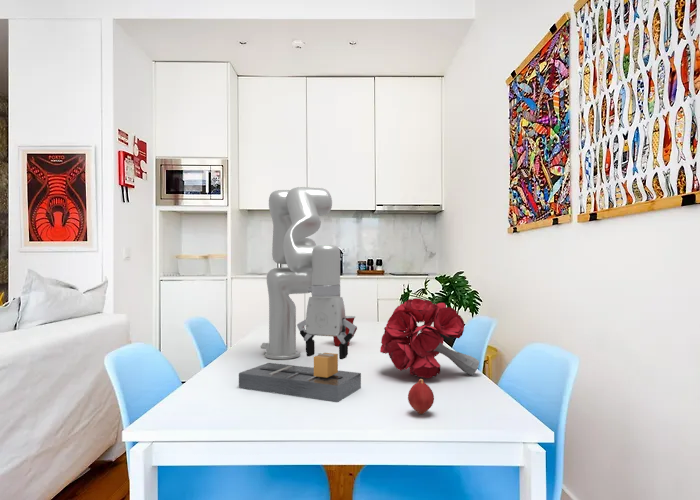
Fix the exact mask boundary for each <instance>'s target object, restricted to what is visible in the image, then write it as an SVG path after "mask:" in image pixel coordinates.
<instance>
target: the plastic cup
mask: <svg viewBox="0 0 700 500" xmlns="http://www.w3.org/2000/svg"><path fill="white" fill-rule="evenodd" d="M345 316H346V320H347V321H349V322H350V323H352V324H354V321H355V318H356V316H355V315H354V316H353V315H345ZM349 331H350V330H349V328H347V327H346V332H345V334H346V335H347V334H348V333H349ZM332 337H333V345H334V346H335V347H339V344H341V342H340V340H339V339H338V337H337V336H332ZM350 341H351V340H350ZM350 341H349V342H348V347H349V345H350V343H351V342H350Z"/></svg>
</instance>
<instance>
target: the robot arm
mask: <svg viewBox="0 0 700 500" xmlns="http://www.w3.org/2000/svg"><path fill="white" fill-rule="evenodd" d="M332 207H333V198H332V195H331V193H330V192H329V191H328V190H327V189H326V188H323V187H310V186H309V187H308V186H307V187H306V186H298V187H293V188H291V189H278V190H277V189H276V190H274V191H272V192H270V194H269V197H268V209H269V213H270V218H271V220H272V226H273V227H272V245H271V246H272V248H271V251H272V253H271V255H272V260H273V261H274V263H276V264H280V265H287V267H286V266H285V267H284V266H283V267H275V268H274V267H273V268H272V269H270V270H269V271H268V273H267V275H266V285H267V293H268V317H269V318H268V342H262V344H261V345H260V349H262V350H266V351H265V352H264V357H265V358H266V359H271V360H289V359H295V358H298V357H300V356H301V352H300V351H299V350H297V329H298V331H299V334H300V336H301V337H302V338H303V341H304V342H305V353H306V357H311V356H314V355H315V353H316V352H315V347H316V346H315V339H314V337H315V336H319V337H320V336H321V337H333V336H337V337H338V339H339V340H340V342H341V344H339V346H338V360H344V359H347V356H348V354H349V346H348V342H349V341H351V340H352V339H353V338H354V336H355V334H356V332H357V330H358V326H357V325H355V323H353V324H352V323H350V322H349V321H347V320H346V316H347V315H346V308H345V303H344V297H343V296H341V249H340V247H339V246H337V245H331V244H330V245H326V244H324V245H317V244H316V242H315V240H314V239H312V238H309V237H310V236H312V235H314V234H316V233H317V232H318V231H319V229H320V228H321V223H322V222H321V217H320V216H326V215H328V214H329V213H330V212H331V210H332ZM309 293H311V296H309V297H308V299H307V306H306V314H305V319H304V320H302V321H300V322H298V323H297V308H296V307H297V306H296V304H295V302H294V300H292V298H291V297H290V295H299V294H309ZM346 327H347V328H349V330H350V331H349V333H348V334H347V335H346V334H345V332H346Z"/></svg>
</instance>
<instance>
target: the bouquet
mask: <svg viewBox="0 0 700 500" xmlns="http://www.w3.org/2000/svg"><path fill="white" fill-rule="evenodd" d="M419 323H420V324H421V323H423V324H422V325H420V326H419V325H418V324H419ZM432 325H433V326H432ZM383 329H384V332H383V335H381V342H380V343H381V346H380V350H379V351H380V353H382V354H385V355H386V354H388V356H389V359H390V361H391V362H392V364H393V365H394V367H395V368H396V369H397V370H398V371H400V372H401V371H404V370H405V371H407V370H408V369H409V374H410V375H411V376H416V377H418V378H425V379H429V378H434V377H437V375H439V374H440V373H441V364H440V362H438V361H437V359H436V358H435V357H437V356H438V355H440V354H442V355H443V356H445V357H447V358H448V359H449V360H451V362H452V363H453V364H454V365H455V366H457V367H458V369H460V370H462V372H464V373H465V374H467V375H470V376H472V375H474V374H475V373H476V372H477V370H478V369H479V366H480V360H479V359H477V358H475V357H474V356H472V355H469V354H466V353H462V352H459V351H455V350H453V349H450V348H449V347H447V346H445V345H444V337H443V336H445V337H446V338H449V339H451V337H452V338H454V339H455V338H456V339H460V338H461V337H462V336H463V333H464V332H465V322H464V319H463V318H462V316H461V315H460V314H458V311H457V310H456V309H455V308H453V307H450V306H447V305H446V303H445V302H438V303H433V302H432V301H430V300H427V299H423V298H422V299H421V298H417V297H416V298H411V299H410V298H409V299H408V300H406V301H404V302H403V303H400V304H399V305H397V307H396V308H395V309H394V310H393V312H392V314H391V316H390V317H389V318H388V320H387V323H386V324H385V327H384V328H383ZM441 335H442V336H441Z"/></svg>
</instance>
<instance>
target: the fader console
mask: <svg viewBox="0 0 700 500" xmlns="http://www.w3.org/2000/svg"><path fill="white" fill-rule="evenodd" d="M361 377H362V373H361V372H356V371H355V372H354V371H345V370H338V373H336V374H334V375H332V376H330V377H328V378H326V377H318V376H314V367H311V366H309V367H308V366H304V365H303V366H301V365H295V364H294V365H291V364H282V363H275V362H267V363H264V364H261V365H258V366H255V367H252V368H250V369H245V370H244V371H240V372H239V373H238V388H239V389H243V390H251V389H252V390H253V391H259V392H266V393H272V394H279V395H288V396H292V397H299V398H300V397H302V398H307V399H315V400H322V401H329V402H334V403H335V402H336V403H338V402H340V401H342V400H344V399H345V398H347V397H349V396H350V395H351V394H353V393H355V392H357V391H358V390H359V389H361V388H362V378H361ZM252 390H251V391H252Z"/></svg>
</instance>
